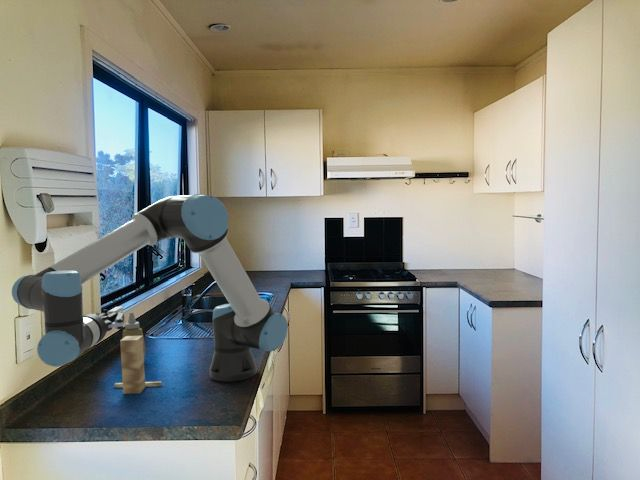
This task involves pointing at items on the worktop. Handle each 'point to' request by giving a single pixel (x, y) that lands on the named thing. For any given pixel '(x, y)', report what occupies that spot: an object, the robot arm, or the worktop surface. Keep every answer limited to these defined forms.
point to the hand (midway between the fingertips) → (119, 311)
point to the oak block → (132, 364)
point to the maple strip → (147, 384)
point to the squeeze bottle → (133, 329)
